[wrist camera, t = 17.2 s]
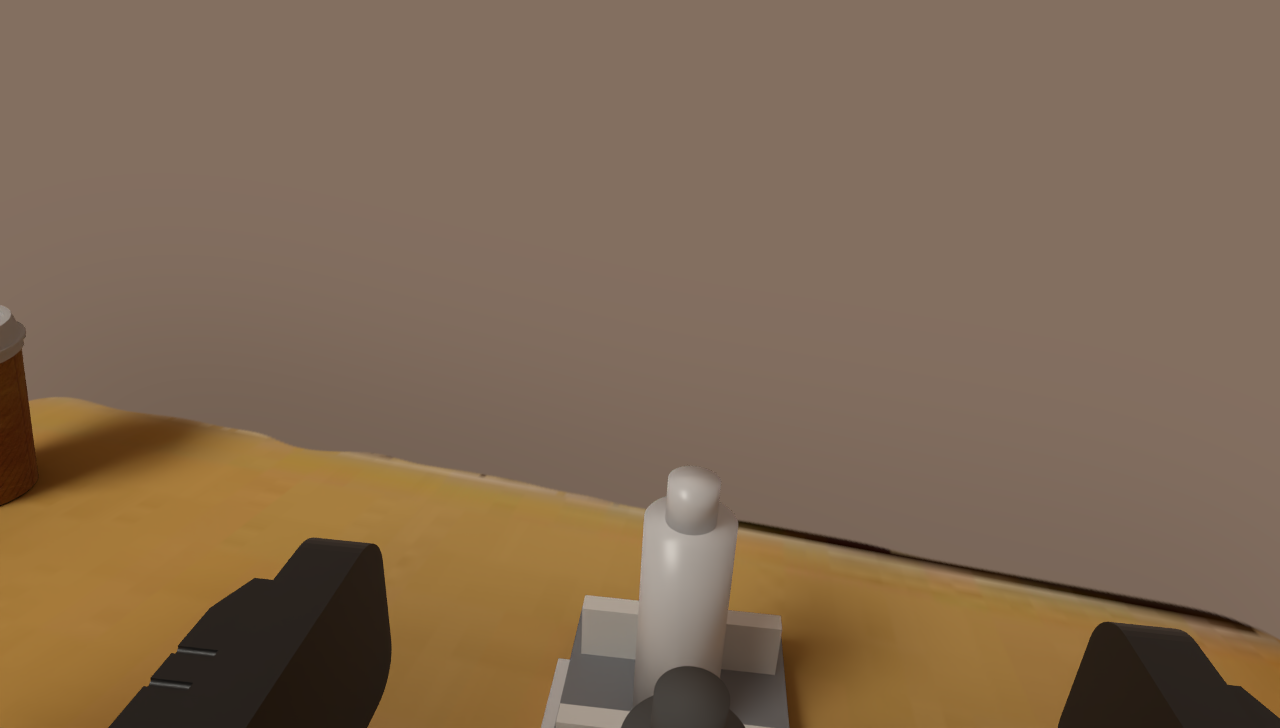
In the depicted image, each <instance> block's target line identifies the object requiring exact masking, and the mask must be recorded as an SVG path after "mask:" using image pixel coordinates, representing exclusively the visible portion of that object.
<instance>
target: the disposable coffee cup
mask: <svg viewBox="0 0 1280 728" xmlns="http://www.w3.org/2000/svg"><path fill="white" fill-rule="evenodd" d="M25 337H26V329H25V327H24V326H23V325H22V324H21V323H19V322H17V321H16V320H15V318H14V316H13V315H12V313H11V311H10V310H9V309H8V308H6V307H4V306H2V305H0V505H2V504H4V503H7V502H9V501H11V500H13V499H15V498H17V497H19V496H21V495H22V494H24V493H25V492H27V491H28V490H29V489H30V488H32V487H33V485H34V484H35V483H36V481H37V479H38V471H37V463H36V456H35V448H34V440H33V433H32V424H31V417H30V409H29V402H28V394H27V386H26V380H25V372H24V365H23V364H24V363H23V355H22V347H23V345H24V340H23V339H24V338H25Z"/></svg>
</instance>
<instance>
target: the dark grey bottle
mask: <svg viewBox="0 0 1280 728" xmlns="http://www.w3.org/2000/svg"><path fill="white" fill-rule="evenodd" d="M621 728H745V726H744V724H743V723H742V722H741V720H740V719H739V718H738V717H737V716H736V715H735V714H734V713H733V712H732V711H731V710H730V694H729V691H728V689H727V687H726V685H725V684H724V682H723V681H722V680H721V679H720V678H719V677H718V676H716V675H715V674H713V673H712V672H710V671H708V670H705V669H703V668H699V667H694V666H681V667H676V668H673V669H671V670H669V671H667V672H665V673H664V674H663V675H662V676H661V677H660V678H659V679H658V680H657V682H656V684H655V687H654V694H653V696H651V697H648V698H647V699H645V700H643V701H641V702H640V703H639V704H637V705H636V706H635V707H634V708H633V709H632V710H631V711H630V712H629V714H628V715H627V716H626V718H625V720H624V721H623V724H622V726H621Z"/></svg>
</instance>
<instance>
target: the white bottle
mask: <svg viewBox="0 0 1280 728" xmlns="http://www.w3.org/2000/svg"><path fill="white" fill-rule="evenodd" d="M720 488H721V479H720V477H719V476H718V475H717V474H716V473H715V472H713V471H712V470H709V469H707V468H703V467H698V466H683V467H679V468H677V469H675V470H673V471H672V472H671V473H670V474H669V476H668V489H667V496H666V497H663V498H660V499H658V500H656V501H655V502H653V503H652V504H651V505H650V506H649V507H648V508H647V510H646V511H645V515H644V528H643V544H642V561H641V577H640V593H639V609H638V625H637V641H636V657H635V674H634V690H633V706H632V709H633V708H634V707H635V706H636V705H637V704H639V703H640V702H641V701H643V700H645V699H647V698H648V697H651V696H653V694H654V687H655V684H656V682H657V680H658V679H659V678H660V677H661V676H662V675H663V674H664V673H665V672H667V671H669V670H671V669H673V668H676V667H681V666H694V667H699V668H703V669H705V670H708V671H710V672H712V673H713V674H715V675H716V676H718V677H719V678H720V674H721V665H722V657H723V648H724V640H725V632H726V623H727V615H728V607H729V598H730V590H731V581H732V573H733V565H734V556H735V548H736V540H737V531H738V520H737V518H736V516H735V514H734V513H733V512H732V510H730V509H729V508H728V507H727V506H726V505H724V504H722V503H721V502H719V498H720Z"/></svg>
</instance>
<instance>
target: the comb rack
mask: <svg viewBox="0 0 1280 728" xmlns="http://www.w3.org/2000/svg"><path fill="white" fill-rule="evenodd" d="M638 609H639V601H636V600H627V599H617V598H608V597H598V596H589V595H585V599H584V604H583V607H582V611H581V615H580V619H579V624H578V628H577V632H576V636H575V641H574V645H573V649H572V653H571V658H570V660H568V659H559V658H558V662H557V666H556V670H555V674H554V678H553V682H552V686H551V690H550V694H549V698H548V702H547V706H546V710H545V714H544V718H543V722H542V726H541V728H621V726H622V724H623V721H624V720H625V718H626V716H627V715H628V714H629V712H630V711H631V710H632V706H633V690H634V674H635V657H636V641H637V625H638ZM781 634H782V623H781V616H778V615H769V614H759V613H750V612H740V611H731V610H728V615H727V623H726V632H725V640H724V648H723V657H722V665H721V674H720V679H721V680H722V681H723V682H724V684H725V685H726V687H727V689H728V691H729V694H730V710H731V711H732V712H733V713H734V714H735V715H736V716H737V717H738V718H739V719H740V720H741V722H742V723H743V724H744V726H745V728H789V719H788V707H787V696H786V685H785V674H784V662H783V651H782V640H781Z"/></svg>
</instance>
